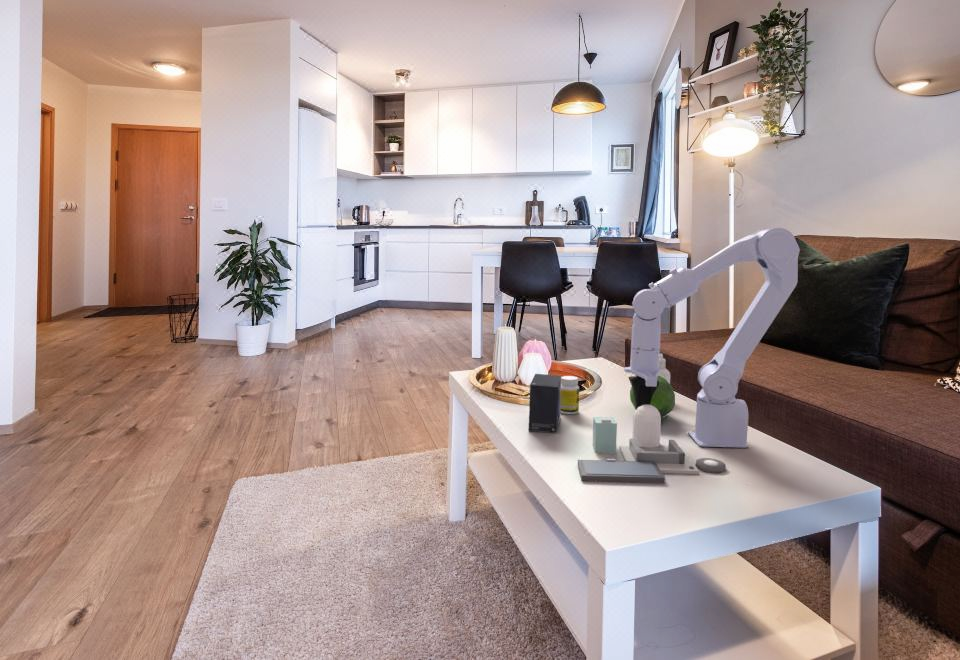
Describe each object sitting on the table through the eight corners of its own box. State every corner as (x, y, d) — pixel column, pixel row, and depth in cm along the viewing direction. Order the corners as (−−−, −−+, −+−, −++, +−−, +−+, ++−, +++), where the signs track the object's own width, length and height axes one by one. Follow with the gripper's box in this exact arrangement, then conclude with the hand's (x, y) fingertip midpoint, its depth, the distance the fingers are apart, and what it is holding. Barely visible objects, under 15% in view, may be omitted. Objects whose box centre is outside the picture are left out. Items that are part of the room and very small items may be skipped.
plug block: (612, 445, 115) (613, 414, 114) (615, 453, 111) (617, 420, 110) (592, 445, 115) (593, 413, 114) (595, 452, 111) (596, 420, 110)
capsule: (658, 439, 118) (660, 402, 117) (660, 448, 113) (662, 409, 112) (632, 437, 119) (633, 400, 118) (632, 446, 114) (634, 407, 113)
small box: (558, 433, 122) (559, 386, 120) (527, 431, 123) (528, 384, 121) (561, 418, 132) (562, 374, 130) (533, 416, 133) (533, 373, 132)
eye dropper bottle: (652, 402, 144) (654, 356, 142) (647, 396, 150) (649, 351, 148) (670, 402, 144) (672, 356, 142) (664, 396, 150) (666, 351, 148)
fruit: (625, 404, 143) (626, 365, 141) (666, 406, 141) (668, 366, 140) (632, 424, 128) (634, 380, 126) (678, 426, 126) (681, 382, 125)
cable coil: (719, 462, 106) (720, 457, 106) (729, 473, 101) (729, 468, 101) (692, 461, 106) (692, 457, 106) (700, 472, 101) (700, 467, 101)
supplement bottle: (580, 414, 134) (581, 380, 133) (560, 414, 135) (560, 380, 133) (576, 408, 139) (577, 375, 138) (557, 408, 139) (558, 375, 138)
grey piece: (681, 450, 112) (681, 438, 112) (699, 474, 101) (699, 460, 100) (619, 448, 113) (619, 436, 112) (630, 472, 102) (630, 459, 101)
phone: (655, 466, 104) (655, 459, 104) (664, 483, 97) (665, 475, 97) (577, 464, 105) (577, 457, 105) (581, 480, 98) (581, 473, 98)
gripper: (619, 341, 125) (616, 400, 127) (632, 354, 111) (629, 421, 113) (652, 341, 124) (649, 401, 127) (669, 355, 110) (665, 422, 112)
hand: (642, 411), depth 120 cm, fingers closed
